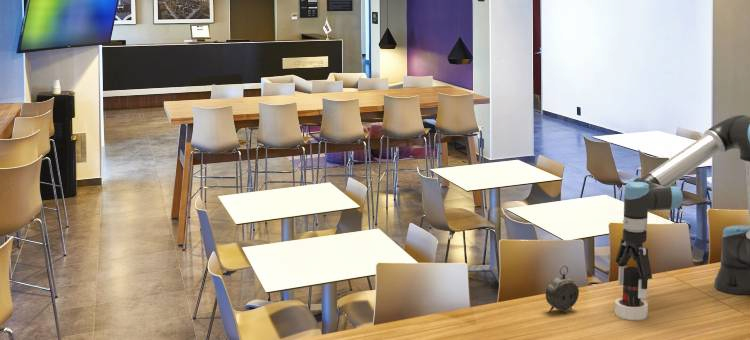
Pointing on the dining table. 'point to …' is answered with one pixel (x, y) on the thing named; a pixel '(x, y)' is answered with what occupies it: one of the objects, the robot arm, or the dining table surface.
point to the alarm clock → (562, 293)
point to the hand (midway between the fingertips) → (632, 291)
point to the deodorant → (631, 287)
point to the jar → (631, 310)
